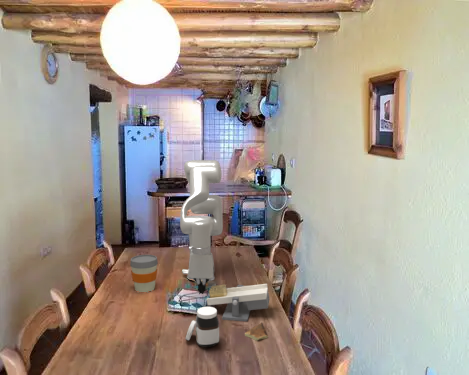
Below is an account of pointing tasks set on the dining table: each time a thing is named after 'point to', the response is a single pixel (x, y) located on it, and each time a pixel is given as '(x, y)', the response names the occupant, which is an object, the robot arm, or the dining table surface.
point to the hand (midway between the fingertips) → (201, 292)
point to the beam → (245, 296)
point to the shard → (257, 332)
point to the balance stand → (236, 310)
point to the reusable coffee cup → (144, 272)
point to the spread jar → (205, 327)
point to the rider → (218, 291)
